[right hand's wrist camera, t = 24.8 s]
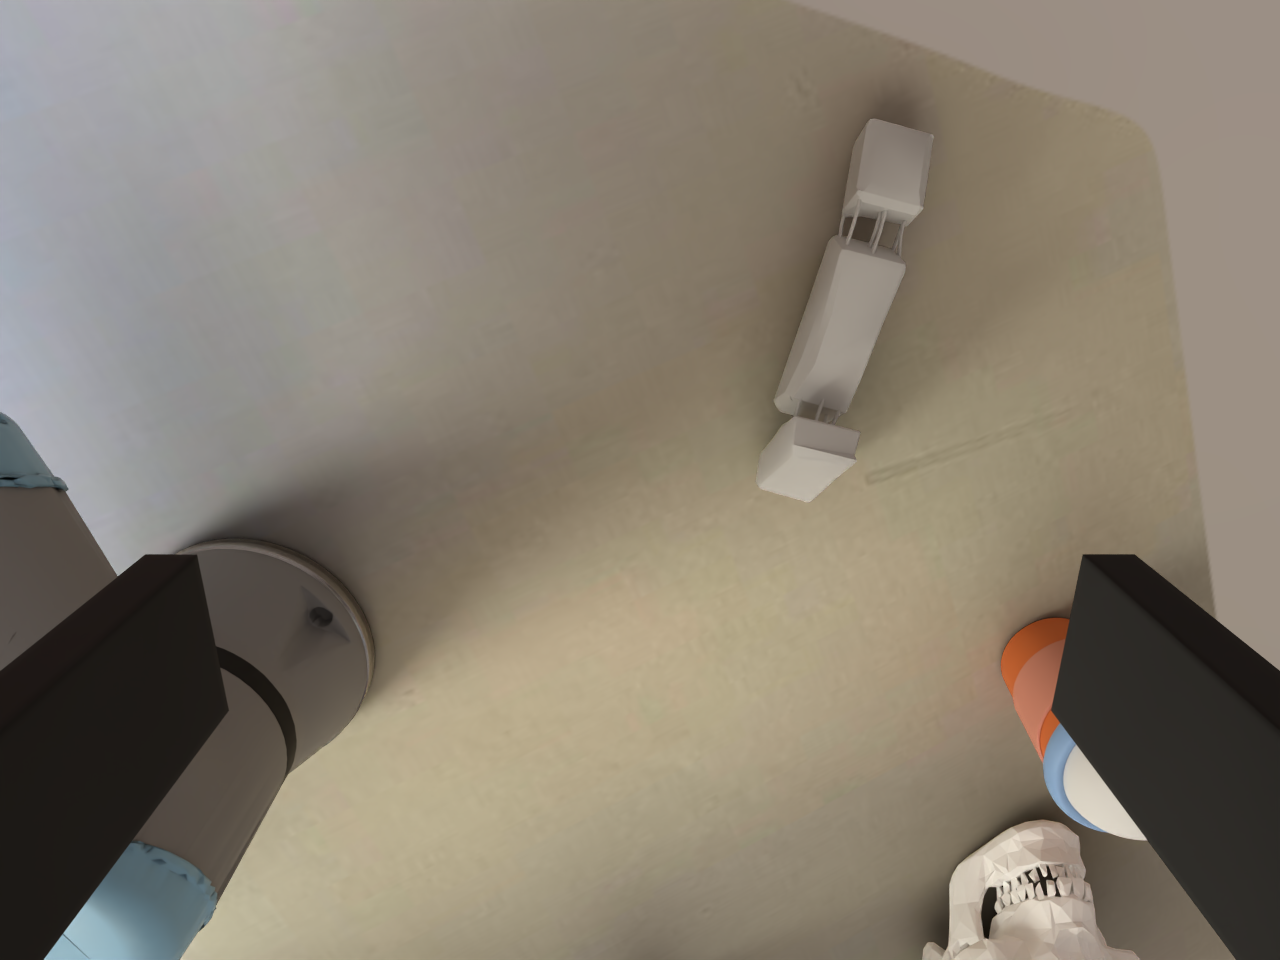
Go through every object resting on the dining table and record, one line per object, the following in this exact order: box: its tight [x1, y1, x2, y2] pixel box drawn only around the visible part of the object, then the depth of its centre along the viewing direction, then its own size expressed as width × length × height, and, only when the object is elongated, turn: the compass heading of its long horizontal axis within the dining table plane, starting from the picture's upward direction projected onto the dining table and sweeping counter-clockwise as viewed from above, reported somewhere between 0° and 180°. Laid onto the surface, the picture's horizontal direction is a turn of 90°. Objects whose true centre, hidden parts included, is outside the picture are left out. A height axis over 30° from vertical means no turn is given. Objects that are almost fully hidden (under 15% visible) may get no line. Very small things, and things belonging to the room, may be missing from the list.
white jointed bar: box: [756, 119, 934, 503], centre depth 44 cm, size 20×4×7 cm, turn 166°
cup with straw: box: [1001, 618, 1147, 840], centre depth 46 cm, size 9×9×18 cm
